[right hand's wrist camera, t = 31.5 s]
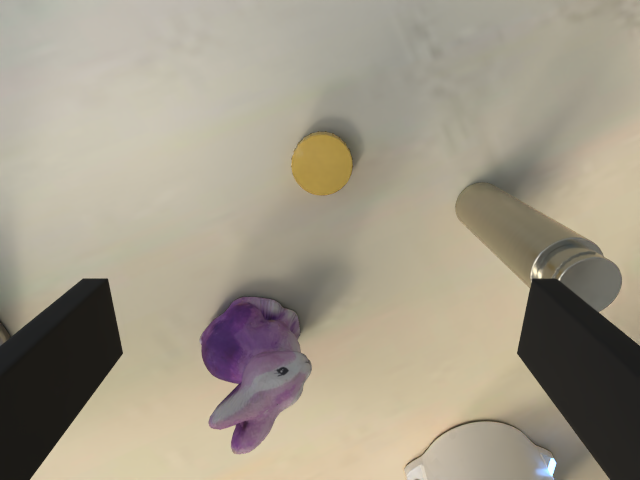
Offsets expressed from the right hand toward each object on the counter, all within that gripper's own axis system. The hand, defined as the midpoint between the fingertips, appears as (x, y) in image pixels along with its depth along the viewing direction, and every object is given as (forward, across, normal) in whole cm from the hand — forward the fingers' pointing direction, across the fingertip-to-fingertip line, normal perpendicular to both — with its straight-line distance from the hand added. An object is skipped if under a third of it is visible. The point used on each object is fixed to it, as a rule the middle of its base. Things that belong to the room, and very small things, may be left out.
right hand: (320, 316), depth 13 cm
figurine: (+28, -7, -18) cm, 34 cm away
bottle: (+28, +16, -4) cm, 33 cm away
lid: (+26, 0, 0) cm, 26 cm away
